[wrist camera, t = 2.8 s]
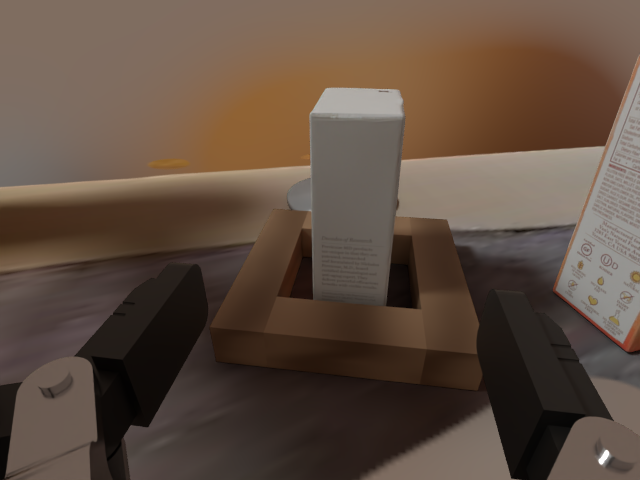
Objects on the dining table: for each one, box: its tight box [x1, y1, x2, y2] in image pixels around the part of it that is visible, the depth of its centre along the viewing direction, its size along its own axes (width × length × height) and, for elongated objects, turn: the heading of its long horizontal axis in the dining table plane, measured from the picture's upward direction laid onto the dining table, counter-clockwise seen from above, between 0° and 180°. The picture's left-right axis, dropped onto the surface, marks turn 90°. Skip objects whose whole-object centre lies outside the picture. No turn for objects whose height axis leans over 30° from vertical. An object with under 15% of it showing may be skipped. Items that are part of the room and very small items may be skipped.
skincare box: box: [310, 88, 405, 306], centre depth 22 cm, size 6×4×12 cm
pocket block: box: [209, 209, 483, 391], centre depth 24 cm, size 13×13×2 cm
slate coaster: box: [287, 178, 311, 211], centre depth 37 cm, size 10×10×1 cm
